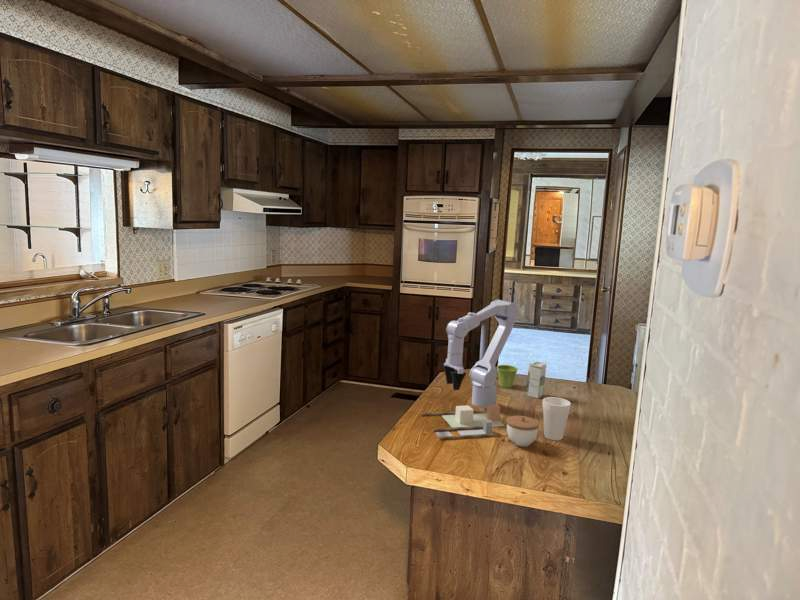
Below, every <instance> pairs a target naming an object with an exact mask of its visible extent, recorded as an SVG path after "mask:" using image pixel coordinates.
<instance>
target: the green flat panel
mask: <svg viewBox="0 0 800 600" xmlns="http://www.w3.org/2000/svg"><path fill="white" fill-rule="evenodd" d="M440 416H441V417H442V418H443V419H444V421H445V422H447V424H448V425H449V426H450V428H454V427H471V426H483V425H484V420H491V421H492V422H493V427H504V428H506V425H505V424H504V423H503V422H502V421H500V419H501V418H500V416H501V406H500V405H498V404H497V403H496V405H487V409H486V412H480V413H473V423H468V424H459V423H458V421H457V420H456V419H455V414H453V415H440Z"/></svg>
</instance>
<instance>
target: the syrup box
mask: <svg viewBox="0 0 800 600" xmlns="http://www.w3.org/2000/svg"><path fill="white" fill-rule="evenodd" d="M546 370H547V363H544V362H540V361H533V362H531V363H528V372H527V382H526V390H525V391H526V392H525V396H526V397H530V398H535V399H539V398H541V397H543V395H544V389H545V383H546Z"/></svg>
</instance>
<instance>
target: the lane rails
mask: <svg viewBox="0 0 800 600" xmlns="http://www.w3.org/2000/svg"><path fill="white" fill-rule="evenodd" d="M455 413H456V411H438V412H437V411H436V412H421V413H420V416H421V417H431V416H441V415H455ZM473 414H475V411H474V412H473ZM481 429H483V426H471V427H454V428H452V427H443V428H441V427H440V428H432V432H433V433H435V434H436V435H437V437H438V440H439V441H445V440H446V441H447V440H450V441H451V440H459V439H460V440H463V439H464V440H465V439H477V438H478V439H479V438H480V439H481V438H493V437H494V438H495V437H498V436H499V435H498V433H496V432H492V433H491V434H476V435H460V434H459V435H452V434H451V432H452V431H453V432H455V431H465V430H481Z"/></svg>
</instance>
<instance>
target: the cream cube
mask: <svg viewBox="0 0 800 600" xmlns="http://www.w3.org/2000/svg"><path fill="white" fill-rule="evenodd" d="M455 412H456V413H455V414H454V415H455V419H456V420H457V421H458V423H459V424H468V423H473V414H474V413H475V411H474V408H473V407H471V406H470V405H466V404H465V405H455ZM473 412H474V413H473Z"/></svg>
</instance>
